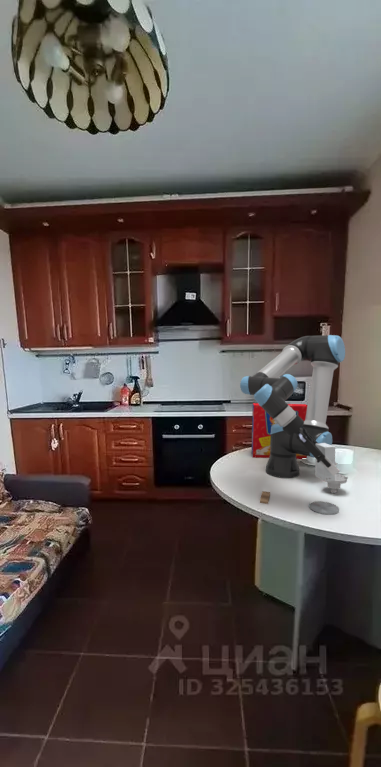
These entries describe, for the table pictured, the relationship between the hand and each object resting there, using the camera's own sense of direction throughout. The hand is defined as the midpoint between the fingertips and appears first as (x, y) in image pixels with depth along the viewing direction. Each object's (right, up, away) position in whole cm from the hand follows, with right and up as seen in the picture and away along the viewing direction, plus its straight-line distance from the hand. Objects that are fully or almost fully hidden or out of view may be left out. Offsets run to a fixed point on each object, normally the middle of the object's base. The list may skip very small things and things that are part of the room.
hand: (335, 469), depth 129 cm
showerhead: (+7, -13, +18) cm, 24 cm away
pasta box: (-4, -9, +68) cm, 69 cm away
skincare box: (-3, -4, +1) cm, 5 cm away
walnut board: (-22, -14, +11) cm, 28 cm away
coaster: (-3, -14, +3) cm, 15 cm away
